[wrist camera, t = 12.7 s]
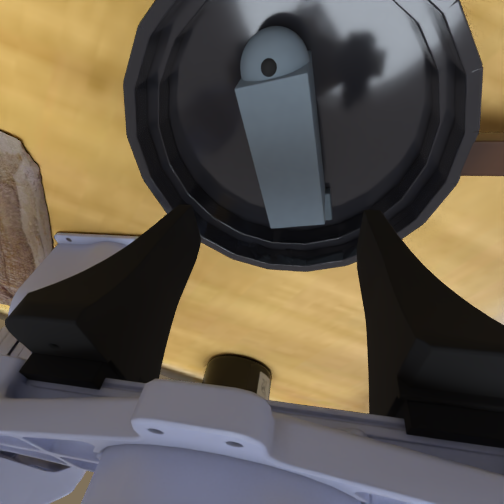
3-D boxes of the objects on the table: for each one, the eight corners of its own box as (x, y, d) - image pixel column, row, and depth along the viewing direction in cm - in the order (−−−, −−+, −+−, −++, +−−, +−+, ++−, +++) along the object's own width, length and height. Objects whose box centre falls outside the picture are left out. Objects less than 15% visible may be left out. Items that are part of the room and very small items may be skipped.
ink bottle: (256, 390, 47) (241, 489, 39) (200, 372, 46) (172, 470, 37) (283, 366, 40) (272, 479, 32) (219, 344, 39) (189, 456, 31)
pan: (187, 233, 26) (173, 263, 24) (102, -51, 14) (57, -49, 12) (408, 243, 23) (417, 279, 21) (530, -107, 11) (586, -120, 9)
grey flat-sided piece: (332, 214, 22) (333, 251, 19) (279, 218, 23) (273, 255, 21) (313, 8, 14) (310, 24, 12) (234, 29, 15) (216, 48, 13)
